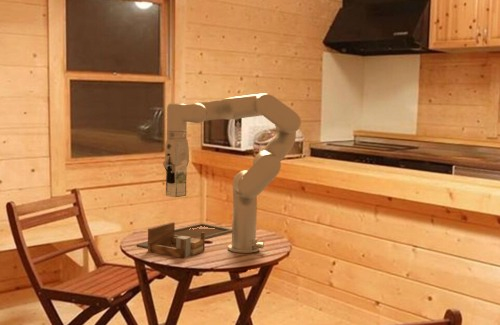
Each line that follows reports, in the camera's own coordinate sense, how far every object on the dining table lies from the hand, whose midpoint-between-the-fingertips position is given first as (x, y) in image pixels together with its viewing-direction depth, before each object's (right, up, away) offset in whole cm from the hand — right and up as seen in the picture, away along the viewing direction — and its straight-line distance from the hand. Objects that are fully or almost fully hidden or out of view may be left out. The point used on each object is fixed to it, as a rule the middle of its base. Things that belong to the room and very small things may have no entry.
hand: (176, 181), depth 225 cm
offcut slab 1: (+6, -25, +1) cm, 26 cm away
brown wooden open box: (0, -27, +2) cm, 27 cm away
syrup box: (0, -6, +1) cm, 6 cm away
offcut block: (+3, -28, -4) cm, 28 cm away
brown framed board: (+6, -25, +34) cm, 43 cm away
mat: (-12, -26, +9) cm, 30 cm away
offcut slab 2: (+6, -28, +1) cm, 29 cm away
